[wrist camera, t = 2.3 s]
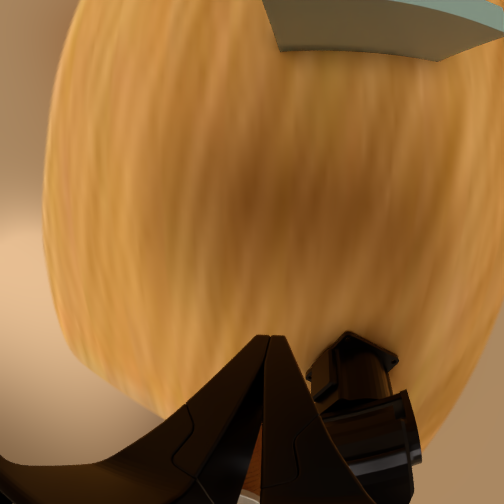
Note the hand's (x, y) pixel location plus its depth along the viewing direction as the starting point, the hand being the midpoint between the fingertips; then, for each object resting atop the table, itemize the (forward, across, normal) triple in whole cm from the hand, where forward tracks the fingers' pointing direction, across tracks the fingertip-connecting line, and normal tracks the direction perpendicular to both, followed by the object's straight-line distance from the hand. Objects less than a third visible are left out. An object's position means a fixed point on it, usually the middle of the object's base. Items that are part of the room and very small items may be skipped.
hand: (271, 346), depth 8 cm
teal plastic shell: (+13, -5, -18) cm, 23 cm away
